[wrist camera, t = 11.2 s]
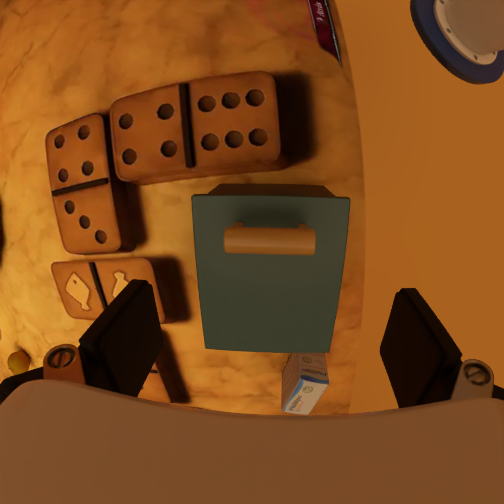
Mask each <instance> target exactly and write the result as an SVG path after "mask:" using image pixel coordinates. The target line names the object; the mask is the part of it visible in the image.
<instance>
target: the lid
mask: <svg viewBox="0 0 504 504" xmlns="http://www.w3.org/2000/svg"><path fill="white" fill-rule="evenodd" d="M191 198H192V215H193V230H194V244H195V257H196V268H197V279H198V289H199V299H200V308H201V317H202V326H203V334H204V342H205V348H206V349H216V350H230V351H248V352H274V353H328V352H329V350H330V345H331V340H332V335H333V330H334V324H335V319H336V313H337V307H338V301H339V295H340V288H341V282H342V275H343V267H344V259H345V251H346V243H347V233H348V223H349V212H350V198H348V197H336V196H316V195H288V194H194V195H192V197H191Z"/></svg>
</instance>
